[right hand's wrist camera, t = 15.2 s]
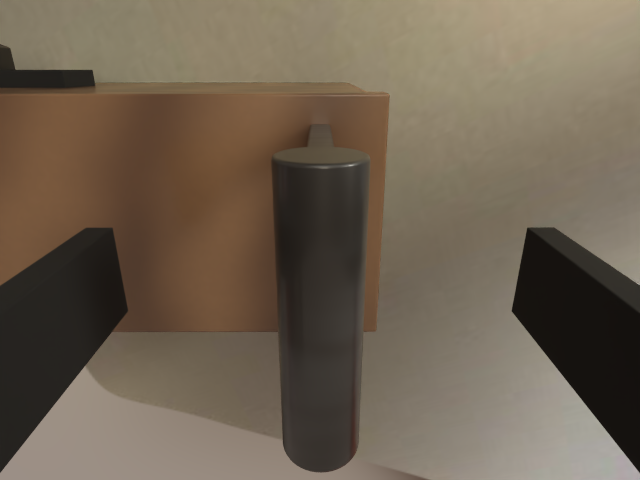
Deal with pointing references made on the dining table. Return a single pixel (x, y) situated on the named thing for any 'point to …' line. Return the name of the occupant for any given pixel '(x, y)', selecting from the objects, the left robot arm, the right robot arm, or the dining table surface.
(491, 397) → the dining table surface
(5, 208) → the lid
